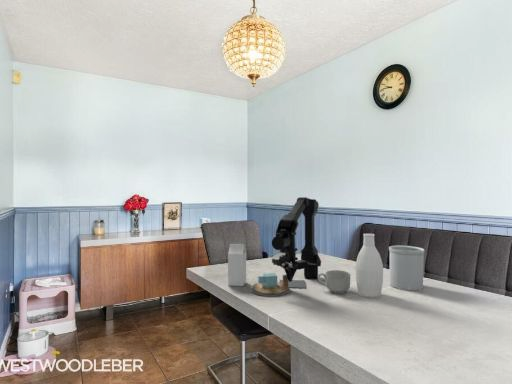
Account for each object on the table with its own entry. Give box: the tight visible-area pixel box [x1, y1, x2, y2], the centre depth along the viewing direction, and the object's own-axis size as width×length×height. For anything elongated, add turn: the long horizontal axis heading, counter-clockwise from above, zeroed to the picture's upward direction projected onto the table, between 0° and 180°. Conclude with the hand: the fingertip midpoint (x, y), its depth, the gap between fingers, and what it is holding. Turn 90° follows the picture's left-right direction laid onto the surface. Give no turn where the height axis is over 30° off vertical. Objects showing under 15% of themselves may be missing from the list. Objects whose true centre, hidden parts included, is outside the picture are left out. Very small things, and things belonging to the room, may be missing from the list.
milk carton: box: [227, 243, 247, 287], centre depth 153 cm, size 7×7×19 cm
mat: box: [279, 279, 307, 289], centre depth 152 cm, size 12×12×1 cm
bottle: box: [355, 233, 384, 299], centre depth 136 cm, size 11×11×25 cm
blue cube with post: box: [257, 272, 278, 288], centre depth 143 cm, size 8×5×5 cm, turn 102°
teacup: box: [317, 269, 352, 294], centre depth 142 cm, size 14×11×8 cm
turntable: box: [251, 274, 288, 294], centre depth 143 cm, size 16×16×5 cm
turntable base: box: [250, 287, 291, 297], centre depth 143 cm, size 17×17×1 cm
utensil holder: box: [388, 245, 426, 291], centre depth 148 cm, size 15×15×18 cm
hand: (290, 281), depth 142 cm, fingers closed
